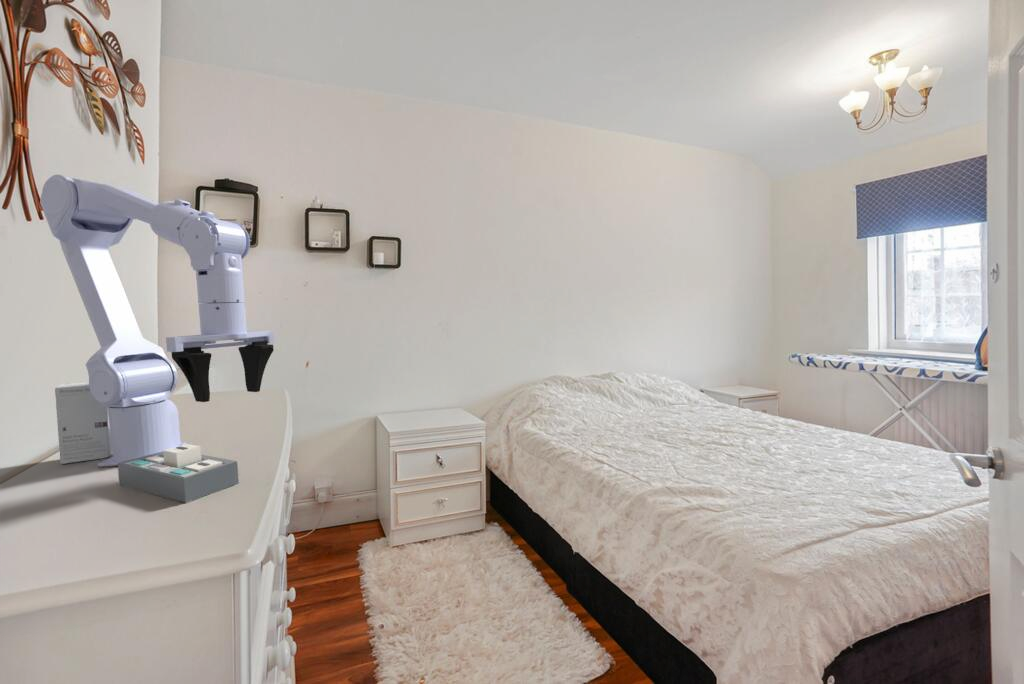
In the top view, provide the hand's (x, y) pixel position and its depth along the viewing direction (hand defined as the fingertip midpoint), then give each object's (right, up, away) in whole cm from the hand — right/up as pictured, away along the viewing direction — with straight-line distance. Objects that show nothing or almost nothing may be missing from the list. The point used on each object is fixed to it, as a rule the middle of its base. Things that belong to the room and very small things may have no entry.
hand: (229, 396), depth 68 cm
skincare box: (-27, -11, +7) cm, 30 cm away
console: (-3, -11, -6) cm, 13 cm away
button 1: (-6, -10, -4) cm, 12 cm away
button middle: (-2, -8, -6) cm, 11 cm away
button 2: (+2, -10, -8) cm, 13 cm away
